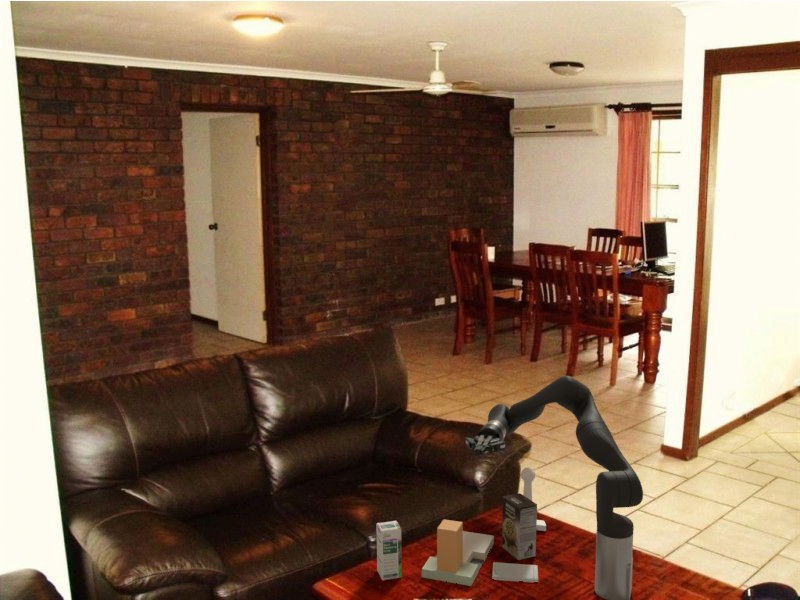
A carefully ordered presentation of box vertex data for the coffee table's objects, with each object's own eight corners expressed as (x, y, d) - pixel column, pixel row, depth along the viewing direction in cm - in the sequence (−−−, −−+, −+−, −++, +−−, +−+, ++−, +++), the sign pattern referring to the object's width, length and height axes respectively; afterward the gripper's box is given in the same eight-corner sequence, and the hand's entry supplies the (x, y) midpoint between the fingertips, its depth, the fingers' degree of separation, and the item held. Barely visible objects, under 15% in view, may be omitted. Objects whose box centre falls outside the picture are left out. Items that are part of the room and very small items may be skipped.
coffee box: (500, 547, 230) (501, 495, 228) (519, 543, 233) (520, 492, 231) (517, 561, 222) (518, 507, 220) (536, 556, 225) (537, 503, 222)
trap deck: (493, 543, 233) (493, 535, 232) (471, 586, 209) (471, 577, 208) (449, 536, 238) (449, 528, 237) (421, 577, 213) (421, 568, 213)
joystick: (543, 525, 244) (544, 465, 241) (548, 536, 237) (549, 474, 234) (508, 526, 244) (509, 465, 241) (511, 537, 237) (512, 474, 234)
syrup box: (381, 581, 212) (381, 531, 209) (376, 570, 217) (376, 521, 215) (402, 578, 213) (401, 528, 211) (396, 567, 219) (396, 519, 216)
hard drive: (492, 576, 212) (538, 579, 210) (493, 561, 220) (537, 564, 218) (492, 581, 212) (538, 584, 210) (493, 566, 220) (537, 569, 218)
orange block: (462, 562, 216) (462, 522, 214) (456, 572, 211) (456, 531, 209) (443, 559, 218) (443, 519, 216) (437, 569, 213) (437, 528, 211)
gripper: (471, 421, 247) (456, 438, 231) (512, 425, 243) (500, 443, 227) (471, 443, 249) (456, 462, 232) (512, 448, 244) (499, 467, 228)
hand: (478, 452), depth 230 cm, fingers closed
